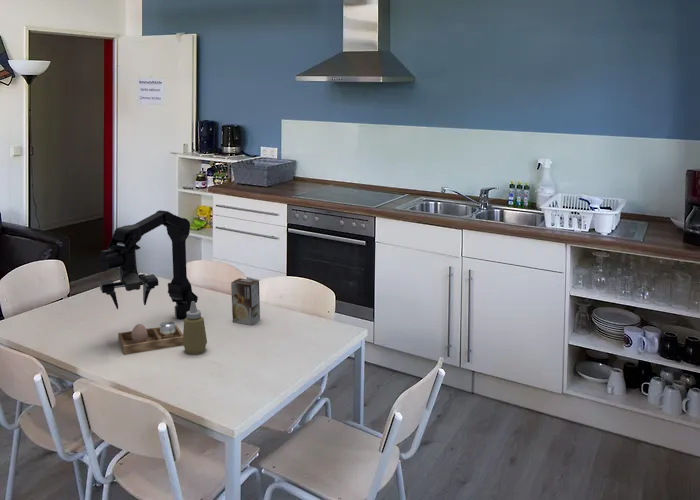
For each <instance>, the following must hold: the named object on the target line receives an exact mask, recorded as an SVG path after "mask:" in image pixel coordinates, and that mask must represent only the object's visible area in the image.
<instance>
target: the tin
mask: <svg viewBox="0 0 700 500" xmlns="http://www.w3.org/2000/svg"><path fill="white" fill-rule="evenodd" d="M175 325H176V323H175V322H174V321H163V322H161V323H160V324H159V327H160V334H161V340H162V339H168V338H175V337H176V331H175Z"/></svg>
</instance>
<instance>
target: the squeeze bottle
mask: <svg viewBox="0 0 700 500" xmlns="http://www.w3.org/2000/svg"><path fill="white" fill-rule="evenodd" d="M201 313H202V312H201V310H198V308H197V305H196V303H195V301H192V302H191V306H190V311H188V312H187V317H186V318H185V319H183V331H182V332H183V333H182V334H183V345H182V346H183V347H184V350H185V353H187V354H189V355H199V354H202V353H204V351H206V347H207V343H208V340H207V331H206V327H205V326H206V325H205V320H204V319H205V318H204V317H202V314H201Z"/></svg>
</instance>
